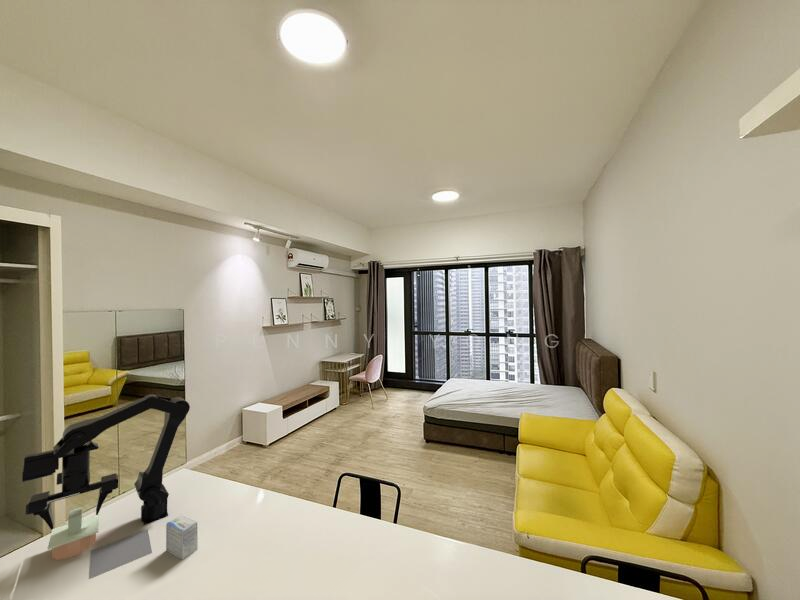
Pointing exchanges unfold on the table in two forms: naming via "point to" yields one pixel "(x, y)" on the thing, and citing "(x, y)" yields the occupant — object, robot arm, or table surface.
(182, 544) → the medicine box
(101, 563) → the mat
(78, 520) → the mint green lid
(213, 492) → the table surface
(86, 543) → the bowl
